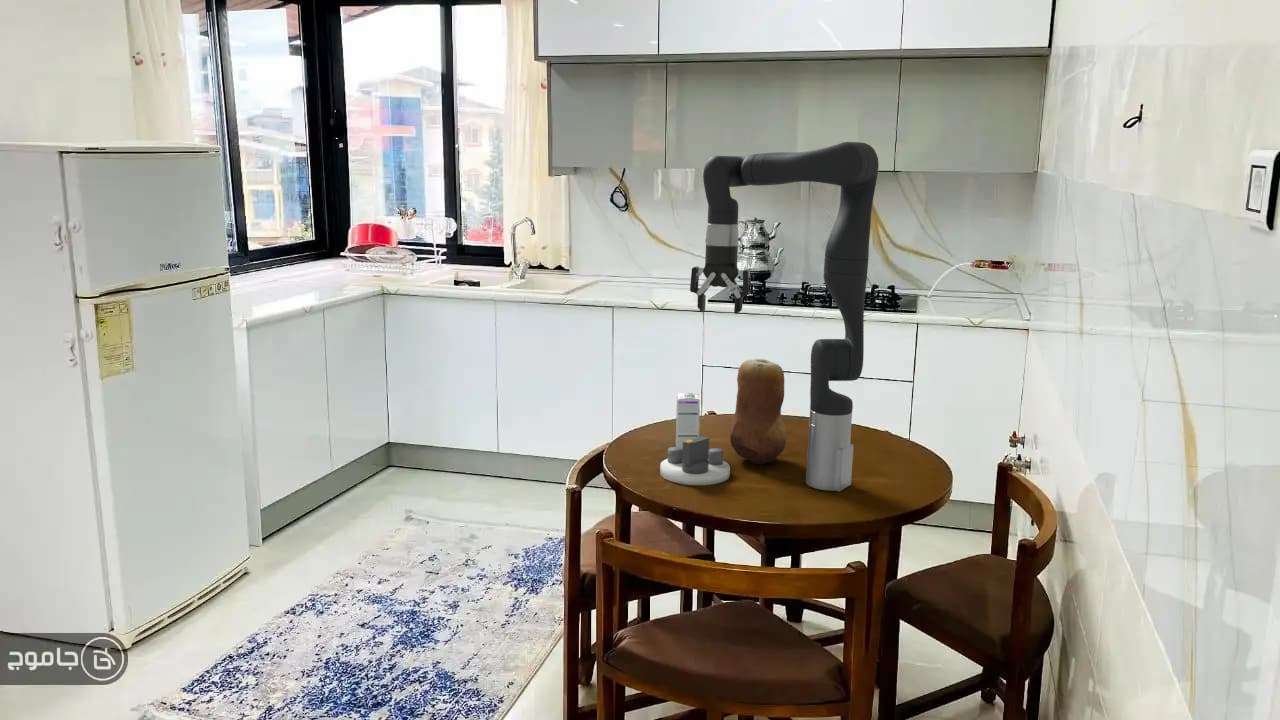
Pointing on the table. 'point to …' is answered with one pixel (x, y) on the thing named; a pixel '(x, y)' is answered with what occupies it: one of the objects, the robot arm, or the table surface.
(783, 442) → the butternut squash
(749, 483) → the table surface
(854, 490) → the table surface
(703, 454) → the wing knob
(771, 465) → the table surface
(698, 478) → the plate
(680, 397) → the syrup box
